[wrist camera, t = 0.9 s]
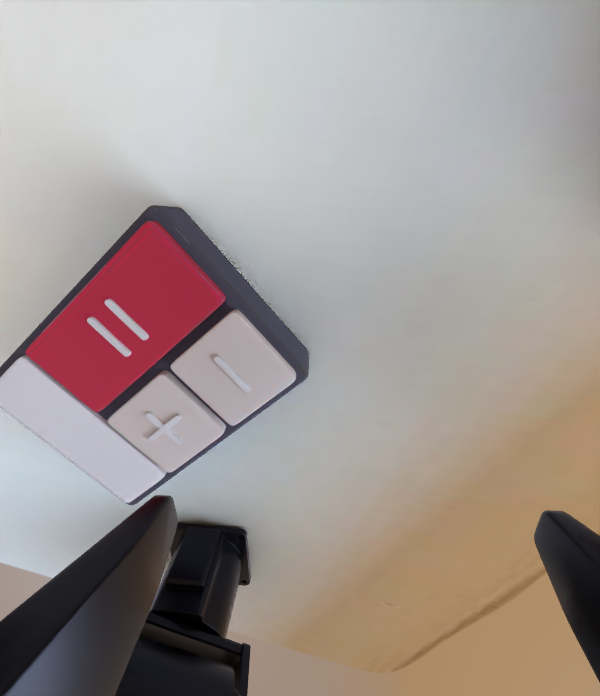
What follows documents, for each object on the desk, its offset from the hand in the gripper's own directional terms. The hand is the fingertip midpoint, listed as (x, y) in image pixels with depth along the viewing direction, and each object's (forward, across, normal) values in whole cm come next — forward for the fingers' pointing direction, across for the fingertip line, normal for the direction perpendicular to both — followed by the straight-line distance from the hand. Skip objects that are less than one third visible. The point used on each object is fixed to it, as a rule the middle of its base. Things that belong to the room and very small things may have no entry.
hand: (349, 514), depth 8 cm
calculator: (+12, +11, +2) cm, 16 cm away
